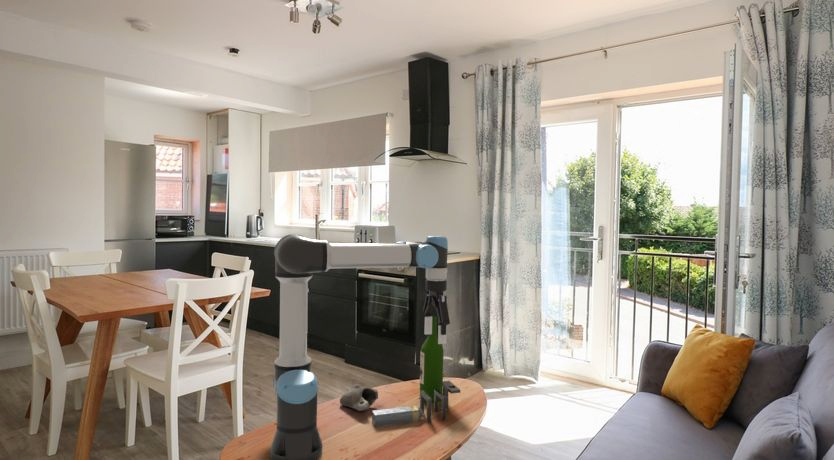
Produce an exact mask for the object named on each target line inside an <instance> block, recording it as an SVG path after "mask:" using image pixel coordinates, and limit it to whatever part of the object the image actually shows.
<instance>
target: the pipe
mask: <svg viewBox="0 0 834 460" xmlns="http://www.w3.org/2000/svg"><path fill="white" fill-rule="evenodd" d="M378 399H379V391H378V389H377V388H373V387H370V386H362V385H361V384H359V383H355V384H353V385H352V386H351V388H350V390H348V391H347V392H345V393H343V394H342V395H341V397H340V399H339V403H340V404H341V405H342V406H344V407H348V408H352V409H354V410H355V411H358V412H365V411H368V410H369V409H370V408H371V406H373V404H375V402H376V400H378Z"/></svg>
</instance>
